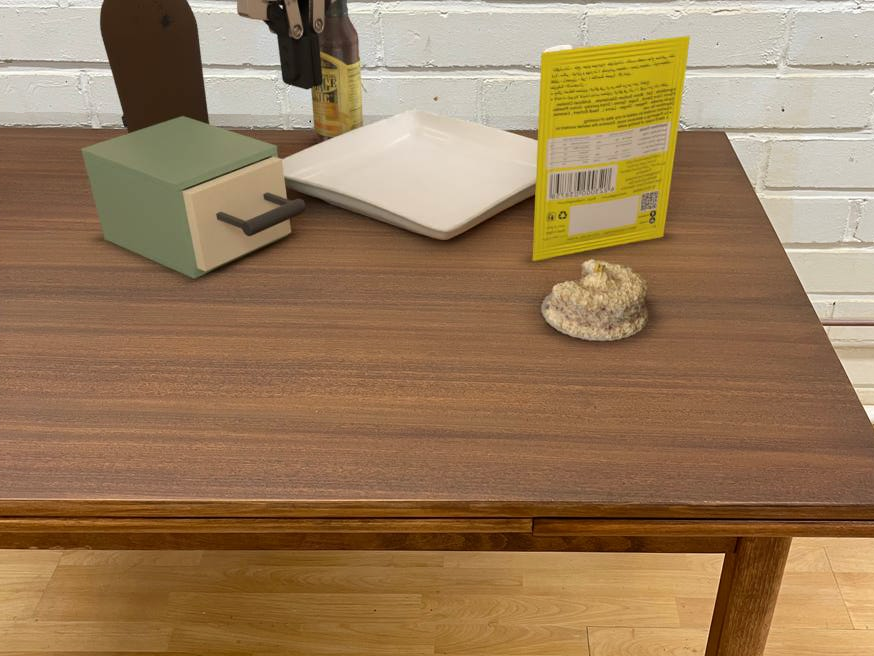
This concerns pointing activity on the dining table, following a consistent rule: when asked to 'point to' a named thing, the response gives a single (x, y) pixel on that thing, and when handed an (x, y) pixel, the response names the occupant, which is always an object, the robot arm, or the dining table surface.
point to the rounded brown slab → (154, 60)
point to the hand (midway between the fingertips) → (302, 83)
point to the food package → (606, 144)
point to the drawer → (239, 212)
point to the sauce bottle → (338, 76)
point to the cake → (599, 303)
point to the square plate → (419, 172)
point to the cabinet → (163, 184)
